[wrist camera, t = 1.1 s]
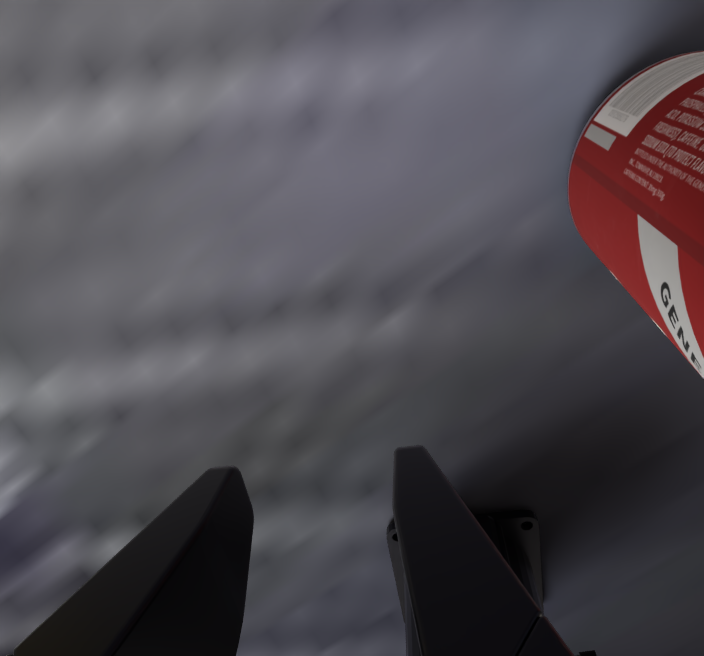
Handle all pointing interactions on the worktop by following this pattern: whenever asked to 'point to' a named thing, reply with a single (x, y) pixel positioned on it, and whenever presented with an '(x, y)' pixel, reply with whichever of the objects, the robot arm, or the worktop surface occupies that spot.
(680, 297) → the soda can
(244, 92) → the worktop surface
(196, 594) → the robot arm
